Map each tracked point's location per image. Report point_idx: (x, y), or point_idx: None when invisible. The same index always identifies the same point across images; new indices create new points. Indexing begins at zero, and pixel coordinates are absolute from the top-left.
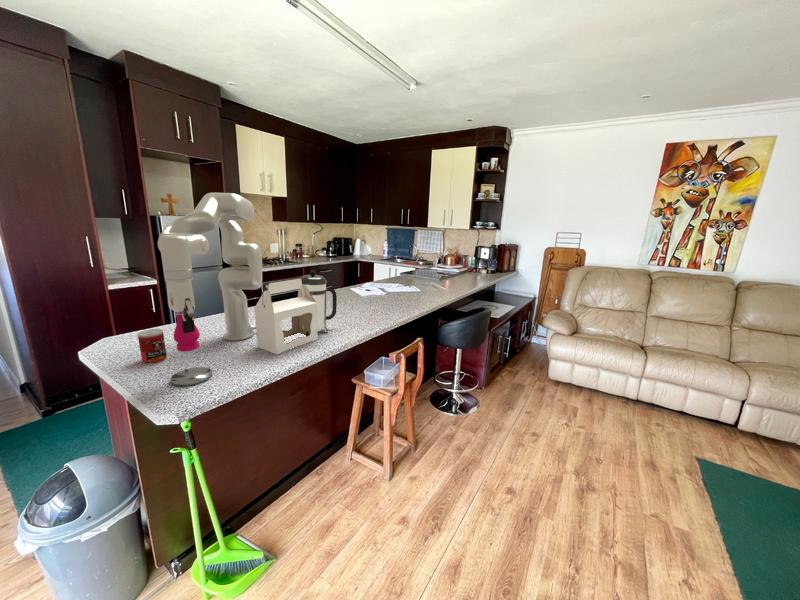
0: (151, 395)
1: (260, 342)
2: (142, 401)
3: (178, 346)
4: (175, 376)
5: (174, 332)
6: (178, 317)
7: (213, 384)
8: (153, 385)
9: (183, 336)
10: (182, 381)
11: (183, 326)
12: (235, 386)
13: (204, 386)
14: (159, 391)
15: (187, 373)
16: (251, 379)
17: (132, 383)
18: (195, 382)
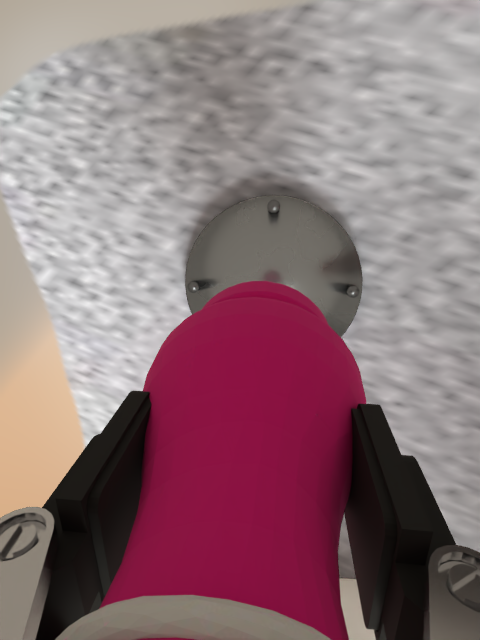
0: (222, 83)
1: (357, 606)
2: (186, 30)
3: (236, 293)
4: (314, 227)
5: (258, 336)
6: (176, 543)
7: (145, 318)
8: (333, 123)
9: (153, 363)
10: (228, 231)
11: (98, 443)
12: (74, 363)
13: (151, 287)
14: (239, 126)
15: (304, 280)
16: (95, 423)
17: (456, 38)
18: (187, 271)
